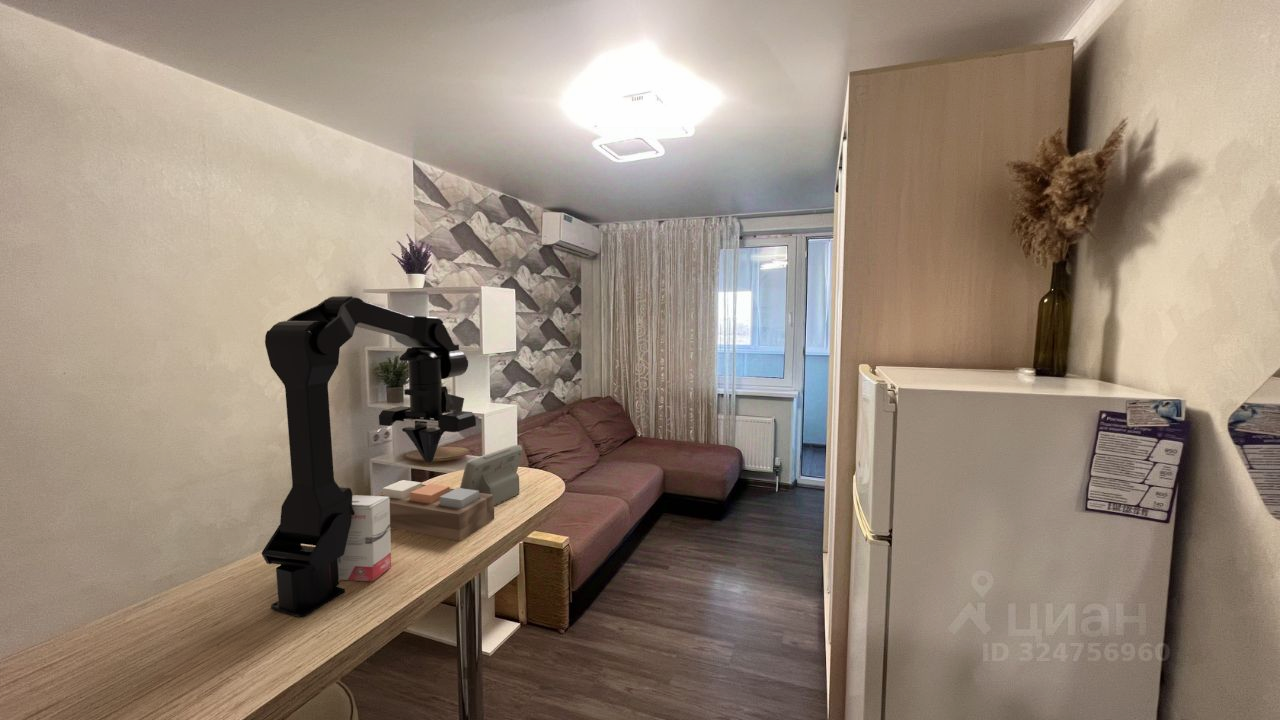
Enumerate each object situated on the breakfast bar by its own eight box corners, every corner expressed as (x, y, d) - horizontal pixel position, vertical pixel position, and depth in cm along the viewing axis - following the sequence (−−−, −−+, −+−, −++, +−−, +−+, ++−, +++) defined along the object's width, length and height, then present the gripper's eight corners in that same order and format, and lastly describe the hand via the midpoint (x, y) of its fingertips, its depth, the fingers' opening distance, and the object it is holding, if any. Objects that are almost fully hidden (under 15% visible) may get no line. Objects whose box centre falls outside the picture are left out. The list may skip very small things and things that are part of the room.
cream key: (403, 506, 94) (402, 491, 93) (383, 502, 95) (382, 488, 95) (422, 496, 98) (421, 482, 98) (403, 493, 100) (402, 479, 100)
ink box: (394, 565, 78) (391, 494, 77) (373, 582, 73) (370, 506, 72) (344, 563, 79) (340, 492, 78) (320, 579, 74) (317, 504, 73)
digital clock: (511, 483, 116) (510, 440, 115) (534, 492, 111) (533, 447, 110) (448, 504, 104) (446, 455, 103) (471, 515, 98) (469, 464, 97)
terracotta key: (431, 510, 91) (431, 495, 91) (411, 507, 93) (410, 492, 93) (450, 501, 96) (449, 486, 96) (430, 498, 98) (429, 483, 97)
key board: (460, 541, 87) (459, 514, 86) (367, 523, 94) (366, 499, 93) (494, 518, 96) (493, 494, 96) (407, 504, 103) (406, 482, 103)
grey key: (462, 515, 89) (461, 500, 89) (440, 512, 91) (439, 496, 90) (479, 505, 94) (478, 490, 94) (458, 502, 95) (457, 487, 95)
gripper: (492, 379, 97) (494, 455, 98) (418, 375, 103) (422, 446, 104) (454, 387, 86) (457, 472, 88) (374, 382, 92) (379, 461, 94)
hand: (429, 461), depth 94 cm, fingers closed
